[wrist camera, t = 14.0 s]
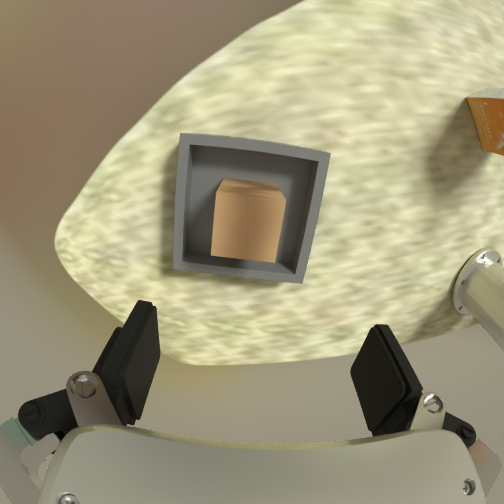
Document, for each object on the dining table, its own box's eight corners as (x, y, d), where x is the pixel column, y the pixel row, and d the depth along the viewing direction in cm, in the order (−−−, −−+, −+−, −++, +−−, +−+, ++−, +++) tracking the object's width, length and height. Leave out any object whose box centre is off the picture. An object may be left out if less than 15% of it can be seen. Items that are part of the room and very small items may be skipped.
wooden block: (277, 184, 28) (286, 200, 22) (269, 233, 30) (274, 262, 24) (223, 177, 28) (216, 192, 21) (218, 227, 30) (210, 255, 23)
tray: (321, 150, 27) (330, 153, 24) (297, 268, 33) (302, 283, 30) (188, 132, 26) (180, 133, 23) (179, 254, 32) (172, 268, 29)
